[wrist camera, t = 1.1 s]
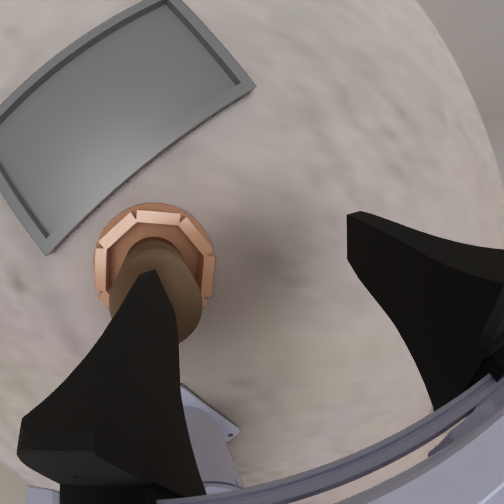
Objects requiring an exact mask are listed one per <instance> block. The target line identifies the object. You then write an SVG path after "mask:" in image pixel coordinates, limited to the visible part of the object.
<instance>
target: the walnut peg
mask: <svg viewBox="0 0 504 504" xmlns="http://www.w3.org/2000/svg"><path fill="white" fill-rule="evenodd" d="M154 269H155V270H156V272H157V274H158V276H159V278H160V281H161V283H162V285H163V287H164V289H165V291H166V293H167V296H168V298H169V300H170V302H171V304H172V306H173V308H174V310H175V316H176V322H177V329H178V341H179V343H180V342H182V341H183V340H185V339H186V338H187V337H188V336H189V335H190V334H191V333H192V332H193V331H194V329H195V328H196V326H197V325H198V322H199V320H200V317H201V314H202V296H201V292H200V289H199V287H198V284H197V283H196V281H195V279H194V277H193V276H192V274H191V272H190V270H189V269H188V267H187V265H186V263H185V261H184V260H183V258H182V256H181V254H180V252H179V251H178V249H177V248H176V247H175V246H174V244H172V243H171V242H170V241H168V240H166V239H164V238H160V237H147V238H143V239H141V240H139V241H138V242H136V243H135V244H134V245H133V246H132V247H131V248H130V250H129V251H128V253H127V255H126V257H125V259H124V261H123V263H122V266H121V268H120V270H119V272H118V274H117V276H116V279H115V281H114V283H113V285H112V288H111V291H110V296H109V310H110V314H111V317H112V319H113V317H114V315H115V314H116V312H117V311H118V309H119V307H120V306H121V304H122V302H123V301H124V299H125V297H126V296H127V294H128V292H129V290H130V289H131V287H132V285H133V284H134V282H135V280H136V279H137V277H138V276H139V274H141V273H144V272H148V271H151V270H154Z"/></svg>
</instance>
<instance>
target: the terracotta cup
mask: <svg viewBox="0 0 504 504" xmlns="http://www.w3.org/2000/svg"><path fill="white" fill-rule="evenodd" d="M147 237H160V238H164V239H166V240H168V241H170V242H171V243H172V244H174V246H175V247H176V248H177V249H178V251H179V252H180V254H181V256H182V258H183V260H184V261H185V263H186V265H187V267H188V269H189V270H190V272H191V274H192V276H193V277H194V279H195V281H196V283H197V284H198V287H199V289H200V292H201V296H202V308H203V307H204V306H206V305H207V304H208V301H207V299H206V298H205V297H212V288H213V277H214V269H215V256H214V253H213V248H212V245H211V242H210V240H209V238H208V236H207V234H206V232H205V231H204V229H203V228H202V226H201V225H200V224H199V223H198V222H197V221H196V220H195V219H194V218H193V217H192V216H190V215H189V214H188V213H186V212H184V211H183V210H181V209H179V208H176V207H174V206H170V205H167V204H161V203H147V204H141V205H137V206H134V207H131V208H129V209H127V210H125V211H123V212H122V213H120V214H119V215H117V216H116V217H115V218H114V219H113V220H112V221H111V222H110V223H109V224H108V225H107V226H106V228H105V229H104V230H103V232H102V234H101V236H100V237H99V240H98V242H97V245H96V248H95V253H94V274H95V291H100V293H99V295H98V298H99V299H100V300H101V301H102V302H103V303H104V305H105V306H106V307H107V308H108V309H109V296H110V291H111V288H112V285H113V283H114V281H115V279H116V276H117V274H118V272H119V270H120V268H121V266H122V263H123V261H124V259H125V257H126V255H127V253H128V251H129V250H130V248H131V247H132V246H133V245H134V244H135V243H136V242H138V241H139V240H141V239H143V238H147Z"/></svg>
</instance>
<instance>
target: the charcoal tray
mask: <svg viewBox="0 0 504 504" xmlns="http://www.w3.org/2000/svg"><path fill="white" fill-rule="evenodd" d="M255 87H256V85H255V83H254V82H253V81H252V80H251V78H250V77H249V76H248V75H247V73H246V72H245V71H244V70H243V68H242V67H241V66H240V65H239V63H238V62H237V61H236V60H235V59H234V57H233V56H232V55H231V54H230V53H229V51H228V50H227V49H226V48H225V47H224V46H223V44H222V43H221V42H220V41H219V40H218V39H217V38H216V36H215V35H214V34H213V33H212V32H211V31H210V30H209V29H208V27H207V26H206V25H205V24H204V23H203V22H202V21H201V20H200V19H199V18H198V17H197V15H196V14H195V13H194V12H193V11H192V10H191V9H190V8H189V7H188V6H187V5H186V4H185V3H184V2H183V1H182V0H143V1H141V2H139V3H137V4H135V5H134V6H132V7H130V8H128V9H126V10H124V11H122V12H121V13H119V14H117V15H115V16H113V17H112V18H110V19H108V20H107V21H105V22H103V23H102V24H100V25H99V26H97V27H95V28H94V29H92V30H91V31H89V32H88V33H86V34H85V35H83V36H82V37H80V38H79V39H77V40H76V41H74V42H73V43H72V44H70V45H69V46H67V47H66V48H65V49H63V50H62V51H61V52H59V53H58V54H57V55H55V56H54V57H53V58H52V59H50V60H49V61H48V62H47V63H45V64H44V65H43V66H42V67H41V68H39V69H38V70H37V71H36V72H35V73H33V74H32V75H31V76H30V77H29V78H28V79H27V80H26V81H24V82H23V83H22V84H21V85H20V86H19V87H18V88H17V89H16V90H15V91H14V92H13V93H12V94H11V95H10V96H9V97H8V98H7V99H6V100H5V101H4V102H3V103H2V104H1V105H0V192H1V194H2V195H3V197H4V198H5V200H6V201H7V203H8V204H9V206H10V208H11V209H12V211H13V212H14V214H15V215H16V217H17V218H18V219H19V221H20V222H21V224H22V225H23V227H24V228H25V229H26V231H27V232H28V234H29V235H30V236H31V238H32V239H33V240H34V242H35V243H36V244H37V246H38V247H39V248H40V250H41V251H42V252H43V254H44V255H45V256H48V255H50V254H51V253H53V252H54V251H55V250H56V249H57V248H58V247H59V246H60V244H61V243H62V242H63V241H64V240H65V239H66V238H67V237H68V236H69V235H70V234H71V233H72V232H73V231H74V230H75V229H76V228H77V227H78V226H79V225H80V224H81V223H82V222H83V221H84V220H85V219H86V218H88V217H89V216H90V215H91V214H92V213H93V212H94V211H95V210H96V209H97V208H98V207H99V206H100V205H101V204H102V203H104V202H105V201H106V200H107V199H108V198H109V197H110V196H111V195H112V194H114V193H115V192H116V191H117V190H118V189H119V188H120V187H122V186H123V185H124V184H125V183H126V182H127V181H129V180H130V179H131V178H132V177H133V176H135V175H136V174H137V173H138V172H139V171H141V170H142V169H143V168H144V167H145V166H147V165H148V164H149V163H150V162H152V161H153V160H154V159H156V158H157V157H158V156H159V155H161V154H162V153H163V152H165V151H166V150H167V149H168V148H170V147H171V146H172V145H174V144H175V143H176V142H178V141H179V140H180V139H182V138H183V137H185V136H186V135H187V134H189V133H190V132H191V131H193V130H194V129H196V128H197V127H199V126H200V125H201V124H203V123H204V122H206V121H207V120H209V119H210V118H212V117H213V116H215V115H216V114H218V113H219V112H221V111H222V110H224V109H225V108H227V107H228V106H230V105H231V104H233V103H235V102H236V101H238V100H239V99H241V98H242V97H244V96H246V95H247V94H249V93H250V92H251V91H252V90H253V89H254V88H255Z"/></svg>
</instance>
